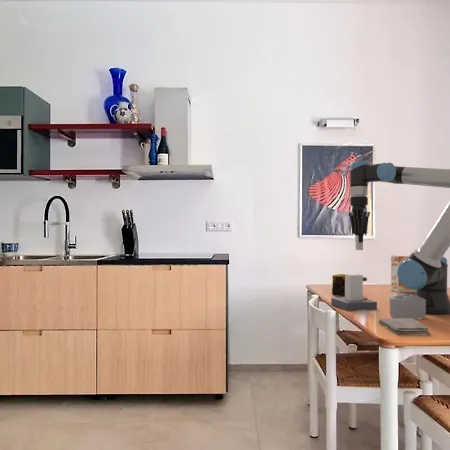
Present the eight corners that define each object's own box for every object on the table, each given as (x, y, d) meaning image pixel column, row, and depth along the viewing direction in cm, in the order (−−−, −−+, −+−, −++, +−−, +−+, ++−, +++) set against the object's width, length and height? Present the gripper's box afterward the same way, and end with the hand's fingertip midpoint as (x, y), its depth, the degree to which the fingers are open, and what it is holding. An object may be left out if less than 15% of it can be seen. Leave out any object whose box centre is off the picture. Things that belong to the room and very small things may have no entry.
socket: (376, 308, 192) (376, 300, 192) (347, 310, 189) (347, 301, 189) (359, 303, 206) (359, 294, 206) (331, 304, 202) (331, 296, 202)
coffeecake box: (398, 292, 238) (398, 256, 238) (390, 291, 245) (390, 255, 245) (422, 291, 242) (422, 255, 242) (413, 290, 249) (413, 254, 249)
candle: (350, 296, 225) (350, 276, 225) (331, 294, 231) (331, 275, 231) (358, 294, 233) (358, 275, 233) (339, 292, 239) (339, 273, 239)
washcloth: (396, 336, 147) (396, 327, 147) (376, 324, 165) (377, 315, 165) (432, 336, 147) (432, 327, 147) (409, 324, 165) (409, 316, 165)
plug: (362, 304, 201) (363, 273, 201) (368, 306, 197) (368, 274, 197) (344, 305, 199) (345, 274, 199) (350, 306, 195) (350, 275, 194)
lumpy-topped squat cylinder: (389, 312, 184) (389, 291, 184) (423, 315, 181) (423, 293, 181) (390, 318, 175) (390, 295, 174) (427, 320, 171) (427, 297, 171)
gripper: (375, 195, 194) (375, 250, 194) (357, 197, 206) (358, 249, 206) (360, 195, 192) (360, 250, 192) (343, 197, 204) (343, 249, 204)
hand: (359, 249), depth 199 cm, fingers closed
